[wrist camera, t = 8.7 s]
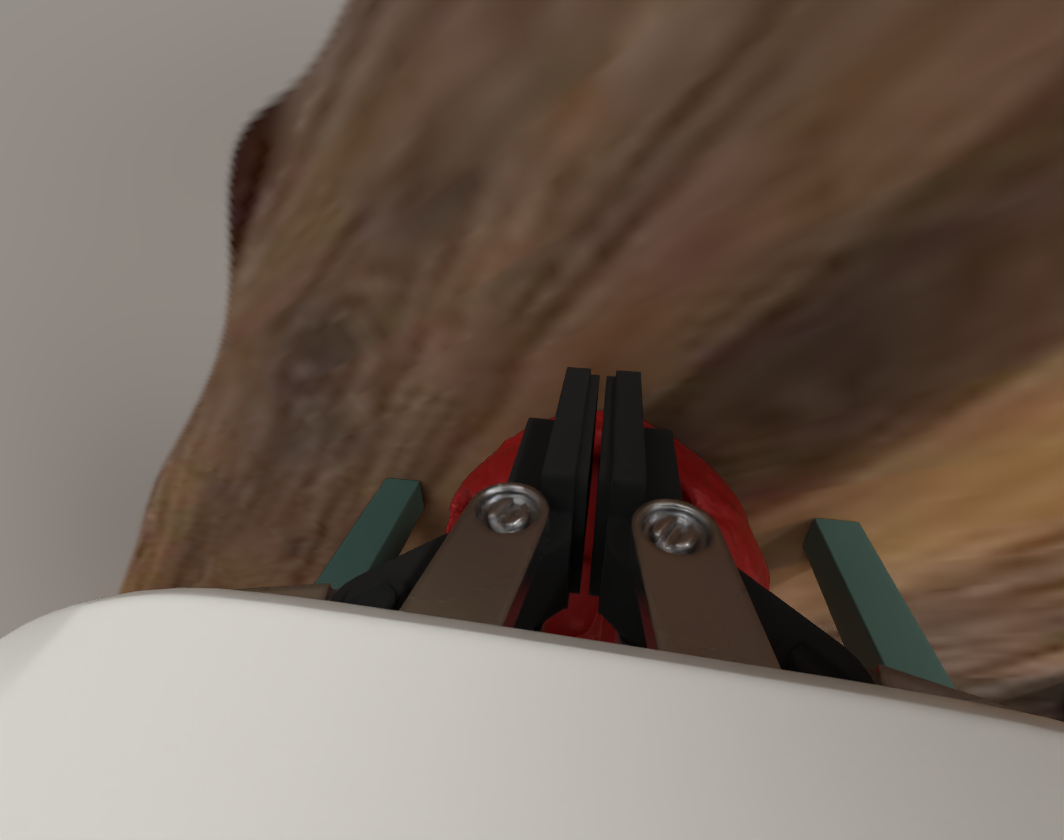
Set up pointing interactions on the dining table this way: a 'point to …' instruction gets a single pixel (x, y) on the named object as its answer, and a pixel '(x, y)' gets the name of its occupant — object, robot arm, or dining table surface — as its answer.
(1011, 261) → the dining table surface
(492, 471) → the pomegranate
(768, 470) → the dining table surface
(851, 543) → the bench
